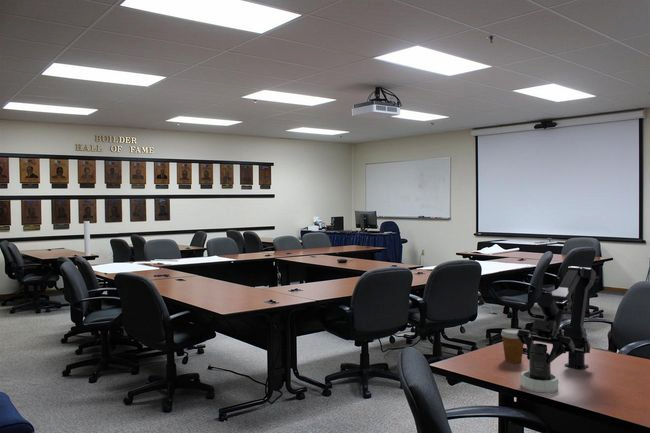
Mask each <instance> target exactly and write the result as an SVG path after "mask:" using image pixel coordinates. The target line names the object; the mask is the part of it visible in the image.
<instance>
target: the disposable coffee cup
mask: <svg viewBox="0 0 650 433" xmlns="http://www.w3.org/2000/svg"><path fill="white" fill-rule="evenodd" d="M519 330H520V329H517V328H504V329H503V328H502V330H501V333H500V335H501V337H502V338H501V340H502V346H503V353H504V354H503V355H504V360H505V362H508V361H510V362H509V363H521V362H522V359H523V351H524V350H523V349H524V345H525V344H523V343H521V341H520V340H519V338H518V336H517V332H518V331H519Z"/></svg>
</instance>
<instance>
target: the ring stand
mask: <svg viewBox="0 0 650 433" xmlns="http://www.w3.org/2000/svg"><path fill="white" fill-rule="evenodd" d="M520 386H521V387H522V388H523V389H525V390H528V391H530V392H534V393H548V394H549V393H554V392H555V393H556V392H558V391H559V376H558V375H556V374H554V373H552V372H551V379H550V380H545V381H543V380H534V379H531V378H530V370H524V371H521V373H520Z"/></svg>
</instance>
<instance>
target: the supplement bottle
mask: <svg viewBox="0 0 650 433" xmlns="http://www.w3.org/2000/svg"><path fill="white" fill-rule="evenodd" d="M532 350H533V351H532V352H531V353H530V354H529V360H528V361H529V362H528V364H529V371H530V378H531V379H534V380H543V381H545V380H550V379H551V373H552V372H551V370H552V369H551V363H550V364H548V363H547V361H548V357H549V355H550V353H549V352H548V345H547V344H546V343H541V342H537V343H533V344H532Z"/></svg>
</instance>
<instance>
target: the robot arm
mask: <svg viewBox="0 0 650 433" xmlns="http://www.w3.org/2000/svg"><path fill="white" fill-rule="evenodd" d="M596 279H597V272H596V270H594V269H593V268H592V267H583V266H574V265H573V266H572V265H571V266H568V267H567V270H566V274H565V276H564V277H563V278H562V281H561V283H560V284H559V286H558V288H557V289H554V290H552V291H551V292H549V291H545V293H544V294H541V295H540V296H539V297H537V299H536V304H537V306H538V308H539V310H540V312H541V313H542V314H543V315H544V318H543V320H541V319H534V320H533V325H532V329H533V330H535V333H536V334H537V335H536V334H532V332H531V330H528V329H527V330H526V329H523V328H521V329H519V331H518V332H517V336H518V338H519V340H520V341H521V343H523V344H524V345H526V359H527V360H528V361H529V354H530V353H531V352H532V351H533V350H532V344H535V343H534V342H537V343H541V344H548V345H552V346H551V347H552V348H551V351H550V353H549V357H548V361H547V363H548V364H550V365H551V363H552V362H553V361H554V360H556V359H557V358H558V357H560V356H561V355H562V354H566V353H568V360H567V361H568V362H567V363H564V366H565V367H568V368H569V367H570V368H574V369H576V370H577V369H578V370H583V369H585V368H588V367H589V364H586V362H585V356H586V355H585V354H591V345H590V342H589V340H588V335H587V332H586V330H585V327H584V324H585V316H586V307H587V301H588V295H589V290H590V289H591V288H592V287H593V286H594V283H595V280H596ZM572 294H573V301H572V298H571V296H572ZM571 307H572V308H571ZM570 309H571V315H570V323H569V324H568V325H567V326H565V327H564V329H563V334H562V335H560V331H559V330H560V327H561V324H562V322H564V321H565V318H564V313H563V312H568V311H569V310H570ZM558 335H559V336H558ZM557 336H558V339H557V338H556V337H557Z"/></svg>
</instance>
